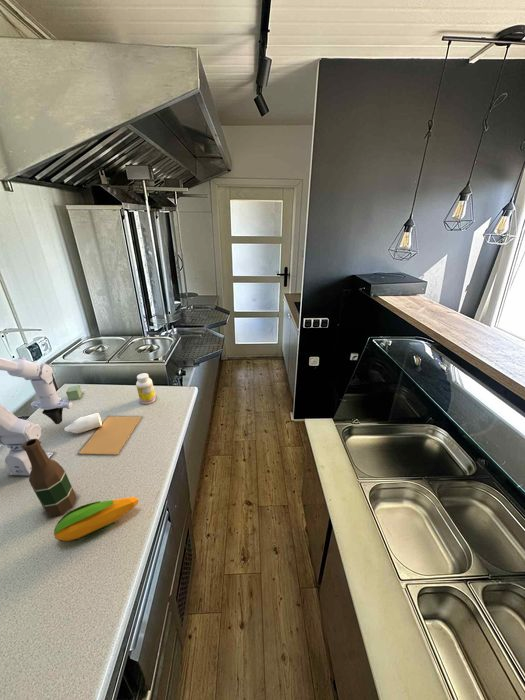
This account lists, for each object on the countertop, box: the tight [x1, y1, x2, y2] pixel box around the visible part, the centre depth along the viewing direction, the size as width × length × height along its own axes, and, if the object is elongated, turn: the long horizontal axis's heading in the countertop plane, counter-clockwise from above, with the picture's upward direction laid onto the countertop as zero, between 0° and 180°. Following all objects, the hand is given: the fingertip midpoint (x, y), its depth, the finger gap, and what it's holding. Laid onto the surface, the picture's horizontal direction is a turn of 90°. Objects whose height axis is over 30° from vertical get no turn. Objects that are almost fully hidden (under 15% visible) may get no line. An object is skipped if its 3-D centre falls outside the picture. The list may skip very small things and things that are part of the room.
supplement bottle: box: [135, 372, 157, 405], centre depth 126 cm, size 7×7×13 cm
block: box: [65, 384, 83, 401], centre depth 131 cm, size 4×4×4 cm
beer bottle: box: [23, 438, 77, 517], centre depth 78 cm, size 8×8×24 cm
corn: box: [53, 496, 139, 543], centre depth 76 cm, size 7×8×20 cm
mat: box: [78, 416, 142, 456], centre depth 109 cm, size 20×14×1 cm
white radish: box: [63, 412, 103, 434], centre depth 110 cm, size 6×12×6 cm, turn 118°
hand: (59, 422), depth 110 cm, fingers closed
